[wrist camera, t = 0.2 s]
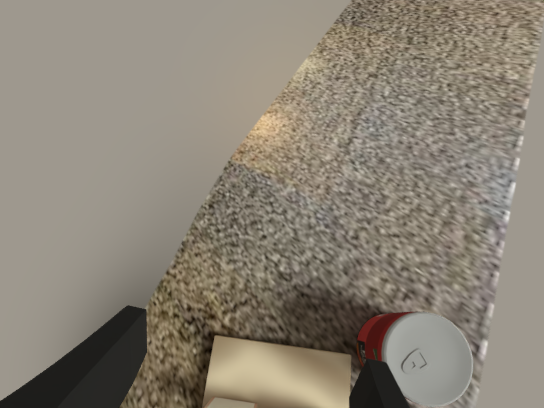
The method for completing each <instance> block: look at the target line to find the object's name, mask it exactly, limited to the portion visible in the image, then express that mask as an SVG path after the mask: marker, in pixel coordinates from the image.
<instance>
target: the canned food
mask: <svg viewBox="0 0 544 408" xmlns="http://www.w3.org/2000/svg"><path fill="white" fill-rule="evenodd" d="M357 354H358V358H359V361H360V363H361V365H362V367H363V366H364V364H365V361H366V359H367V358H369V359H373V360H378V361H383V362H386V363H387V364H388V366H389V368H390V370H391V372H392V374H393V376H394V378H395V380H396V382H397V383H398V385H399V387H400V389H401V391H402V393H403V395H404V397H405V398H406V399H408V400H410V401H412V402H414V403H417V404H420V405H424V406H428V407H440V406H444V405H448V404H450V403H452V402H454V401H456V400H457V399H458V398H459V397H460V396H462V395H463V393H464V392H465V391H466V389H467V388H468V386H469V383H470V381H471V378H472V373H473V358H472V352H471V349H470V347H469V344H468V342H467V340H466V338H465V336H464V335H463V334H462V332H461V331H460V330H459V329H458V327H456V326H455V325H454V324H453V323H452V322H451V321H449V320H447V319H446V318H444V317H442V316H440V315H437V314H434V313H429V312H402V313H388V314H381V315H377V316H375V317H373V318H371V319H370V320H368V321H367V322H366V323H365V324H364V325H363V327H362V328H361V330H360V332H359V335H358V338H357Z"/></svg>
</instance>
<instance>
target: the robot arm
mask: <svg viewBox="0 0 544 408" xmlns="http://www.w3.org/2000/svg"><path fill="white" fill-rule="evenodd" d="M146 353H147V322H146V309H142V308H137V307H133V306H126V307H125V308H124V309H122V310H121V311H120V312H119V313H118V314H116V315H115V316H114V317H113V318H112V319H110V320H109V321H108V322H107V323H105V324H104V325H103V326H102V327H101V328H99V329H98V330H97V331H96V332H94V333H93V334H92V335H91V336H90V337H88V338H87V339H86V340H84V341H83V342H82V343H80V344H79V345H78V346H77V347H75V348H74V349H73V350H72V351H70V352H69V353H67V354H66V355H65V356H64V357H62V358H61V359H60V360H58V361H57V362H56V363H55V364H53V365H51V366H50V367H49V368H47V369H46V370H45V371H43V372H42V373H40V374H39V375H37V376H36V377H35V378H33V379H32V380H30V381H29V382H28V383H26V384H25V385H23V386H22V387H21V388H19V389H18V390H16V391H15V392H13V393H12V394H10V395H9V396H7V397H6V398H4V399H3V400H1V401H0V408H119V407H120V405H121V403H122V402H123V400H124V398H125V396H126V395H127V393H128V391H129V389H130V388H131V386H132V384H133V382H134V380H135V378H136V375H137V373H138V371H139V369H140V367H141V364H142V362H143V360H144V358H145V355H146ZM349 408H410V406H409V405H408V403H407V401H406V399H405V397H404V395H403V393H402V391H401V389H400V387H399V385H398V383H397V382H396V380H395V378H394V376H393V374H392V372H391V370H390V368H389V366H388V364H387V363H386V362H383V361H378V360H373V359H369V358H367V359H366V361H365V364H364V366H363V368H362V370H361V372H360V374H359V377H358V379H357V381H356V383H355V385H354V388H353V390H352V392H351V394H350V396H349Z"/></svg>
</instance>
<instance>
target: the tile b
mask: <svg viewBox="0 0 544 408" xmlns="http://www.w3.org/2000/svg"><path fill="white" fill-rule="evenodd" d="M204 408H257V403H250V402H244V401H237V400H231V399H225V398H218V397H212V398H211V400H210V401H209V402H208V403H207V405H206V406H205V407H204Z"/></svg>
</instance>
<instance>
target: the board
mask: <svg viewBox="0 0 544 408" xmlns="http://www.w3.org/2000/svg"><path fill="white" fill-rule="evenodd" d="M350 377H351V355H349V354H345V353H338V352H331V351H324V350H317V349H310V348H303V347H297V346H290V345H283V344H276V343H269V342H262V341H256V340H249V339H242V338H235V337H228V336H221V335H215V337H214V343H213V349H212V354H211V360H210V365H209V371H208V376H207V382H206V387H205V393H204V399H203V404H202V408H204V407H205V406H206V405H207V403H208V402H209V401H210V400H211V398H212V397H218V398H225V399H231V400H237V401H244V402H250V403H257V408H349V396H350Z"/></svg>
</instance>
